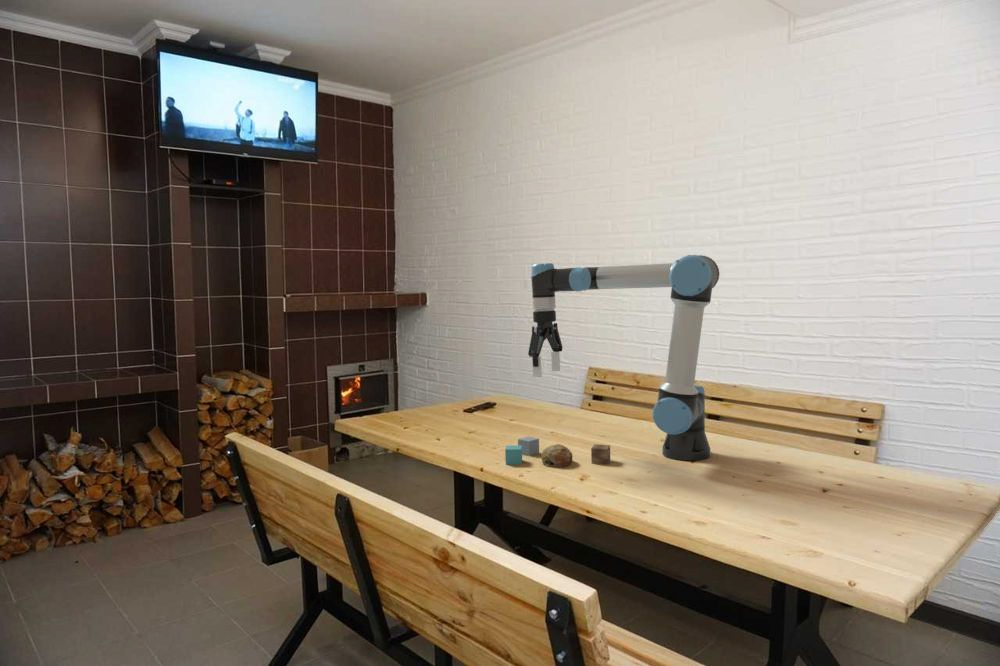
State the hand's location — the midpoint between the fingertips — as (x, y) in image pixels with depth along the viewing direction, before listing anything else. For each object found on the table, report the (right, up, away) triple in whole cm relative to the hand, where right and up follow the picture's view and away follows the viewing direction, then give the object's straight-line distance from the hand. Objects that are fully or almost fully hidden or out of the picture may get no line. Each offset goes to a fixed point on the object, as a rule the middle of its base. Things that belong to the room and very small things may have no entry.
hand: (546, 373), depth 235 cm
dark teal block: (-11, -28, -9) cm, 32 cm away
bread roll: (+3, -28, -11) cm, 30 cm away
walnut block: (+16, -28, -11) cm, 34 cm away
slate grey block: (-6, -27, +2) cm, 28 cm away
